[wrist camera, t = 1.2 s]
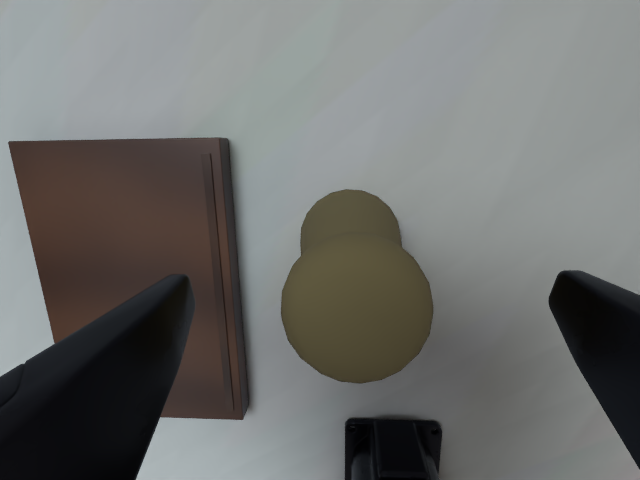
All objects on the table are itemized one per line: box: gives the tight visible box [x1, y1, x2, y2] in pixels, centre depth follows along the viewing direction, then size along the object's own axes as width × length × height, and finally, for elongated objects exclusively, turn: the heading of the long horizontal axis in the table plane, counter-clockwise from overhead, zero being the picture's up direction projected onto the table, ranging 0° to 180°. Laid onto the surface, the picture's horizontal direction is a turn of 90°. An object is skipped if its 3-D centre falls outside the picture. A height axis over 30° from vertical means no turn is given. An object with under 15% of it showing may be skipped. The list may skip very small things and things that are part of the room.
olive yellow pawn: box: [281, 189, 433, 383], centre depth 16 cm, size 6×6×11 cm
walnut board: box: [8, 138, 249, 420], centre depth 22 cm, size 18×12×2 cm, turn 1°
